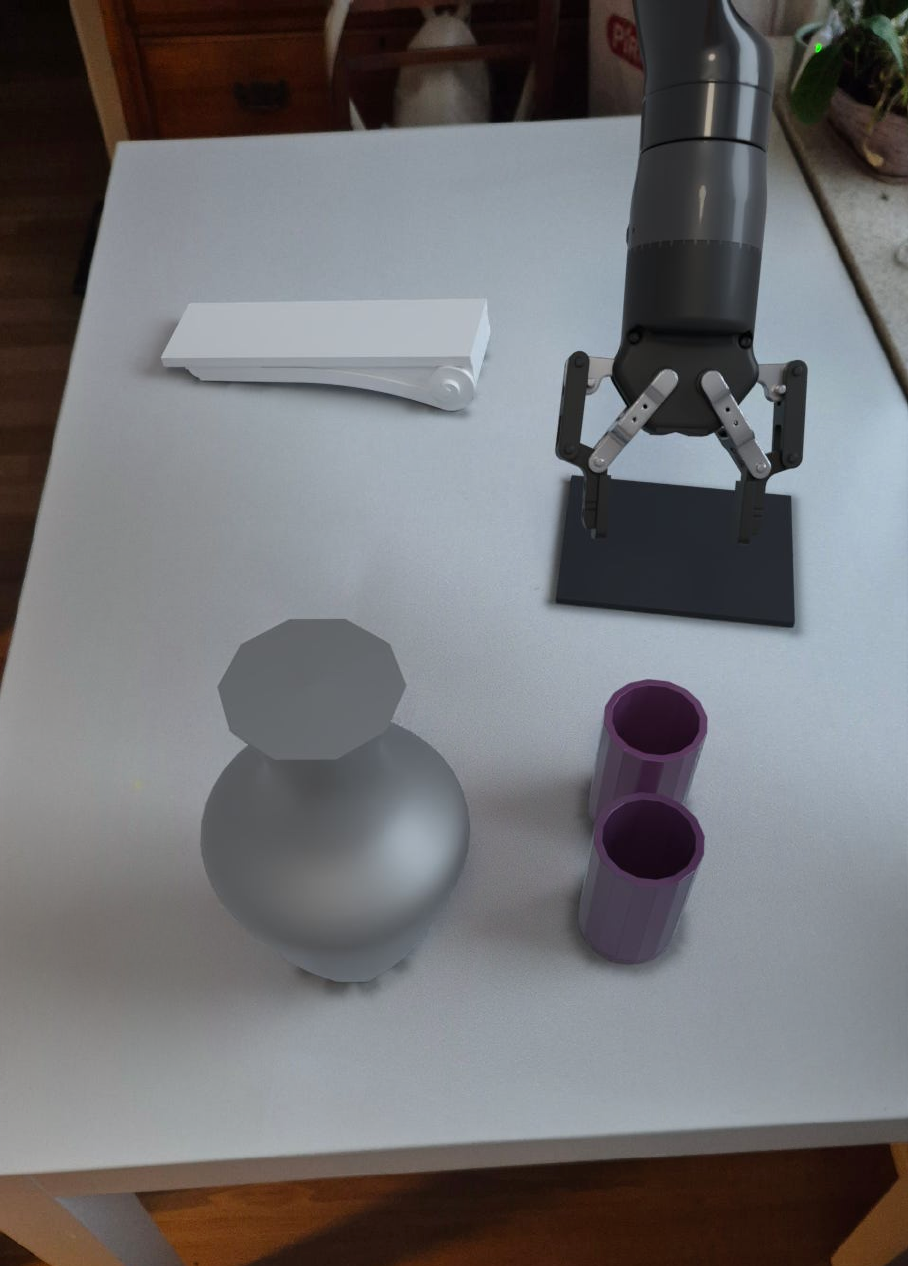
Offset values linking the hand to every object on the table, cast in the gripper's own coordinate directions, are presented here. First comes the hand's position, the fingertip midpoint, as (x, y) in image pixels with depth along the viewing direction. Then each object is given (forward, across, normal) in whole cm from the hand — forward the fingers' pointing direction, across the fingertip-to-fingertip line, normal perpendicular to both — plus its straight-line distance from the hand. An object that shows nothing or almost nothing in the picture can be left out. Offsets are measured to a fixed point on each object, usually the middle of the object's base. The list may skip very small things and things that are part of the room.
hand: (669, 541), depth 69 cm
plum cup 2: (+23, -1, -3) cm, 24 cm away
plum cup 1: (+18, 0, +4) cm, 18 cm away
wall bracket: (-12, -25, +40) cm, 49 cm away
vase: (+25, -18, -3) cm, 31 cm away
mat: (+2, +5, +22) cm, 23 cm away
